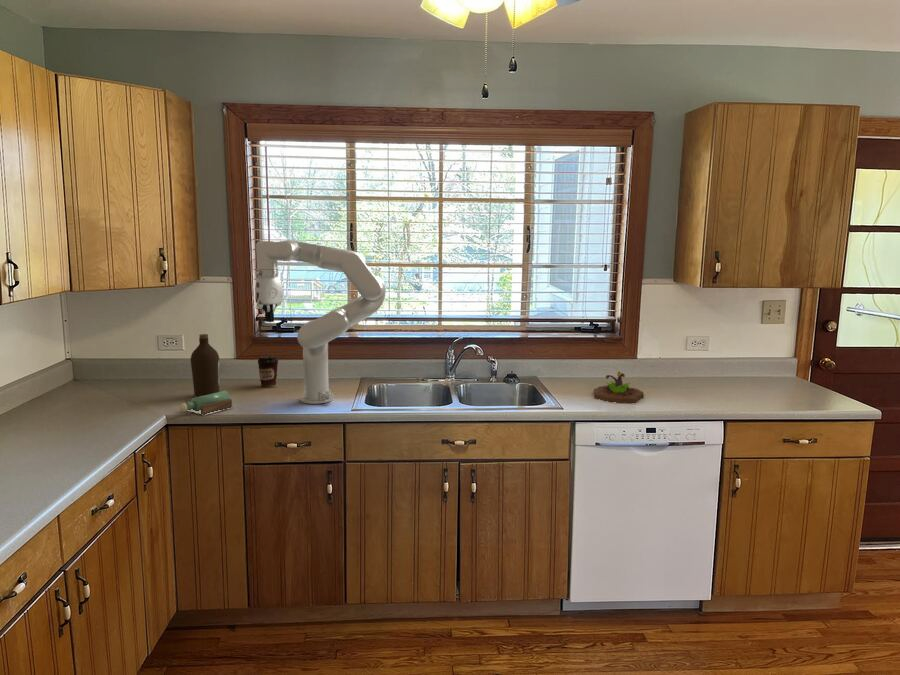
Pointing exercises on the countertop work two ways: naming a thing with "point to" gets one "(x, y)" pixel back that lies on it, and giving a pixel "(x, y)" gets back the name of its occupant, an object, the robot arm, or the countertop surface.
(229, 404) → the cradle
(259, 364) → the coffee cup
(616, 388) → the plant
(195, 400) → the bottle
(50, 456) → the countertop surface
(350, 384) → the countertop surface
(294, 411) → the countertop surface
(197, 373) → the olive oil
